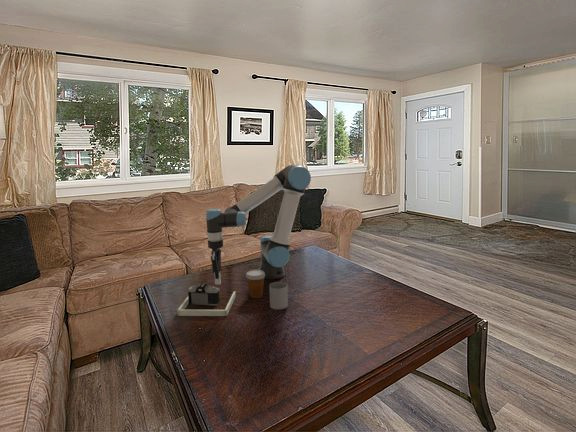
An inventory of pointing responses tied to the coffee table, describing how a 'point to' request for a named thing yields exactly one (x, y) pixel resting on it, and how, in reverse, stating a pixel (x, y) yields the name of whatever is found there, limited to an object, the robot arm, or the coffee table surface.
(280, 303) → the cup
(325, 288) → the coffee table surface
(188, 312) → the docking bay
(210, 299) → the camera
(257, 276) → the disposable coffee cup
